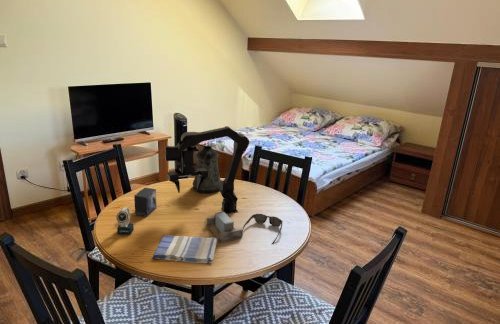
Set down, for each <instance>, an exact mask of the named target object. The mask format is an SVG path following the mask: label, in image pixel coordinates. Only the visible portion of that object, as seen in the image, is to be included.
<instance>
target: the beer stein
mask: <svg viewBox="0 0 500 324" xmlns="http://www.w3.org/2000/svg"><path fill="white" fill-rule="evenodd" d="M195 157H196V159H197V161H196V165H195V166H196V167H195V171H197V169H198V168H205V169H206V170H208V171H209V177H206V179H204V181H203V182H202V184H201V186H200V188H199V190H197V175H194V179H193V181H192V187H193V190H194V191H195V192H196V193H198V194H202V195H203V194H204V195H210V194H217V193H218V192H220V191H219V185H220V181H221V176H220V170H219V163H218V162H219V161H218V158H219V154H218V152H217V151H216V150H214V149H213V148H212V146H210V145H205V146H203V147H202V149H200V150H199V151H197V152H196V154H195Z"/></svg>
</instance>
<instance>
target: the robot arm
mask: <svg viewBox="0 0 500 324" xmlns="http://www.w3.org/2000/svg"><path fill="white" fill-rule="evenodd" d="M225 137H228V138H229V139H231V140H232V141H233V151H232V152H233V153H232V156H231V159H230V162H229V166H228V169H227V173H226V174H225V177H224V179H223V180H221V179H220V180H221V181H220V185H219V191H218V192H219V193H220V195H221V197H222V202H221V210H222V212H224V213H225V214H227V215H229V214H234V213H238V212H239V210H238V209H237V202H238V199H239V198H238V197H237V195H236V193H235V181H236V176H237V173H238V170H239V168H240V167H239V166H240V163H241V160H242V158H243V157H242V156H243V154H244V153H245V152H246V151H247V149H248V147H249V145H250V140H249V138H248V137H247V136H246V135H245V134H244V133H238V132H237V131H235V130H234V129H233V128H231V127H230V126H224V127H219V128H215V129H210V130H204V131H185V132H184V133H182V134H181V136H180V140H179V141H178V142H177V144H176V145H165V147H164V148H165V152H164V159H165V162H174V169H175V170H178V171H179V172H180V173H179V172H178V173H177V171H168V172H166V178H167V179H168V181H169V182H172V184H174V185H175V188H176V190H177V192H178V194H180V192H181V189H180V187H181V185H180V184H181V182H180V180H179V179H180V178H186V177H195V175H197V190H199V188H200V186H201V184H202V182H203V181H204V179H206V177H209V171H208V170H206V169H205V168H198V169H197V171H196V170H195V166H196V163H195V152H199V151H200V149H199V148H198V147H197V145H199V144H200V143H203V142H206V141H211V140H215V139H221V138H225ZM180 159H181V161H179V160H180Z"/></svg>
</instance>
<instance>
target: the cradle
mask: <svg viewBox="0 0 500 324" xmlns="http://www.w3.org/2000/svg"><path fill="white" fill-rule="evenodd" d="M225 214H226V213H225ZM226 215H227V216H228V217H229V214H226ZM206 227H207V228H208V229H209V230H210V232H211V233H212V234H213V235H214V238H217V242H218V241H219V243H220V244H221V243H225V242H230V241H234V240H239V239H242V238H243V237H242V229H243V228H238V229H237V228H235V227H234V229H233V230H231V231H227V232H222V233H221V232H220V230H219V229H218V228H217V227H216V226H215V215H214V216H209V217H206Z"/></svg>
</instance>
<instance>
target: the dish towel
mask: <svg viewBox="0 0 500 324" xmlns="http://www.w3.org/2000/svg"><path fill="white" fill-rule="evenodd" d="M217 243H218V239H217V238H216V237H201V236H199V237H198V236H186V235H185V236H184V235H183V236H182V235H178V236H176V235H166V234H163V236H162V238H161V239H160V242H159V243H158V245H157V247H156V249H155V252H154V253H153V256H152V259H154V260H155V259H156V260H163V261H164V260H165V261H171V262H173V261H174V262H176V261H177V262H183V263H184V262H185V263H194V264H196V263H197V264H198V263H200V264H212V262H213V261H214V257H215V251H216V246H217Z"/></svg>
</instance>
